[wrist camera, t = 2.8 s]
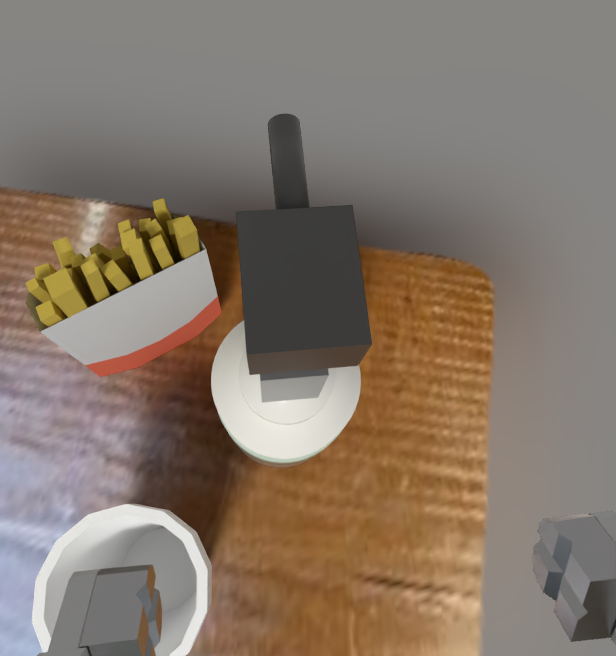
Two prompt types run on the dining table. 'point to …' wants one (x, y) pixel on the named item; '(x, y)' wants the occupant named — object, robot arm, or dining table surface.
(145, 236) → the french fries container
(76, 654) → the robot arm
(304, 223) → the pump head
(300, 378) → the syrup bottle
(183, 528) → the foam cup
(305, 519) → the dining table surface
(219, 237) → the dining table surface
